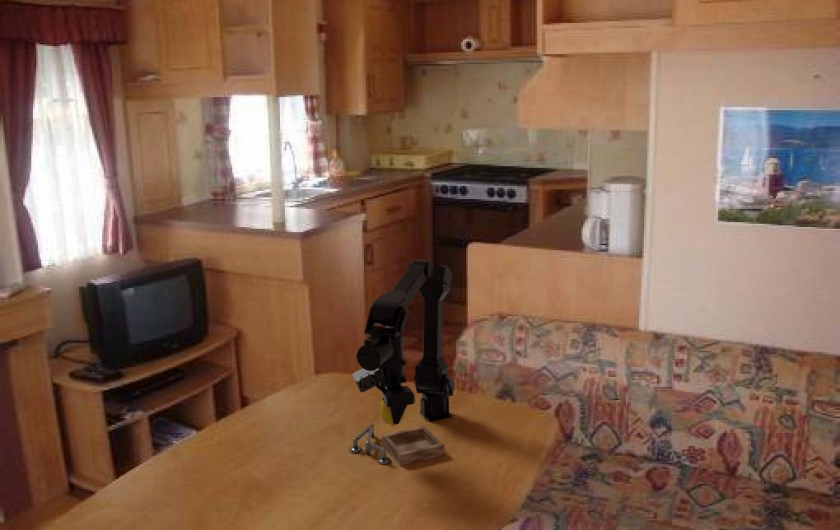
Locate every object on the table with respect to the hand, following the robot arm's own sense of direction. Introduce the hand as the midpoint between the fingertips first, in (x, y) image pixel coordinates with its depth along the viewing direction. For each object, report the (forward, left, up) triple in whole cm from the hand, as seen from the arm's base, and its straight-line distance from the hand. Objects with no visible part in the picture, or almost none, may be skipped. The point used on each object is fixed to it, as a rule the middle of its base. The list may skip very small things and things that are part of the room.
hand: (393, 418), depth 178 cm
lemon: (0, 0, -2) cm, 2 cm away
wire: (+4, -5, -10) cm, 12 cm away
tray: (-5, -1, -10) cm, 11 cm away
